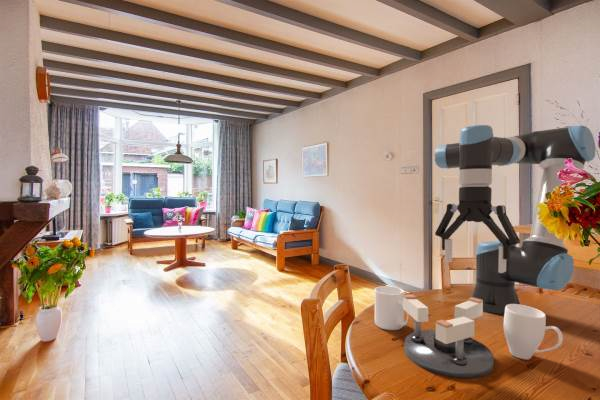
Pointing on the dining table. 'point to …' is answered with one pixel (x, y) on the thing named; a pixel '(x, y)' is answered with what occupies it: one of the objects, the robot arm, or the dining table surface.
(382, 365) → the dining table surface
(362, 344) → the dining table surface
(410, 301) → the handle
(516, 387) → the dining table surface
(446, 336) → the knob
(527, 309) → the mug
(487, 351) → the base
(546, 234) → the robot arm
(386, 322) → the mug
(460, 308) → the handle
